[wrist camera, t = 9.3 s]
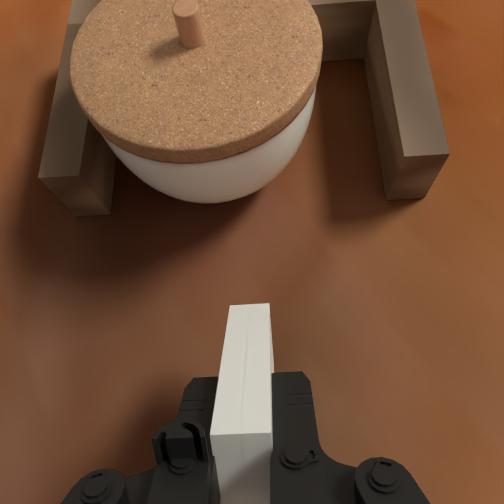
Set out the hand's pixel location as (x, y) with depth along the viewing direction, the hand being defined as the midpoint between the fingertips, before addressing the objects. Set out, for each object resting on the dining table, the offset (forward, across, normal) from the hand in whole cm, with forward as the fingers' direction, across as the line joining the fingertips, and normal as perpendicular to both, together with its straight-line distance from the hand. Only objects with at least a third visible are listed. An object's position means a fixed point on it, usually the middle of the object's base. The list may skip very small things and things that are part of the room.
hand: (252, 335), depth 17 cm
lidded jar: (+11, -2, +5) cm, 13 cm away
